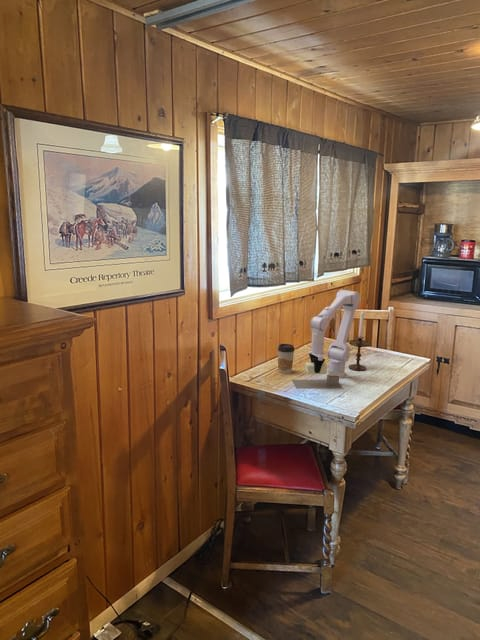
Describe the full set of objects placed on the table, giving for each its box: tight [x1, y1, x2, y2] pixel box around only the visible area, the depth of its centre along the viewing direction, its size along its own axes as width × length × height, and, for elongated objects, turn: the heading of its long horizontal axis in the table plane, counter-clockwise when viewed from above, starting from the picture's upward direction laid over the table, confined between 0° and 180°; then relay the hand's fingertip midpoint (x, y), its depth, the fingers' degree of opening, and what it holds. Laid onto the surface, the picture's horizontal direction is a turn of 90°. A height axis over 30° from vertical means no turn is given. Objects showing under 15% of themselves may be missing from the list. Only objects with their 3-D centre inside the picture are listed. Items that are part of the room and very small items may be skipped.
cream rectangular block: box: [304, 362, 328, 375], centre depth 227 cm, size 5×9×4 cm, turn 95°
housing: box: [291, 374, 344, 390], centre depth 228 cm, size 12×22×6 cm, turn 95°
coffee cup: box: [277, 343, 295, 375], centre depth 244 cm, size 8×8×15 cm
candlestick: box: [348, 304, 371, 372], centre depth 255 cm, size 11×11×35 cm
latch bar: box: [328, 371, 345, 377], centre depth 228 cm, size 2×7×2 cm, turn 95°
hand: (315, 370), depth 227 cm, fingers closed on cream rectangular block, 5 cm apart
